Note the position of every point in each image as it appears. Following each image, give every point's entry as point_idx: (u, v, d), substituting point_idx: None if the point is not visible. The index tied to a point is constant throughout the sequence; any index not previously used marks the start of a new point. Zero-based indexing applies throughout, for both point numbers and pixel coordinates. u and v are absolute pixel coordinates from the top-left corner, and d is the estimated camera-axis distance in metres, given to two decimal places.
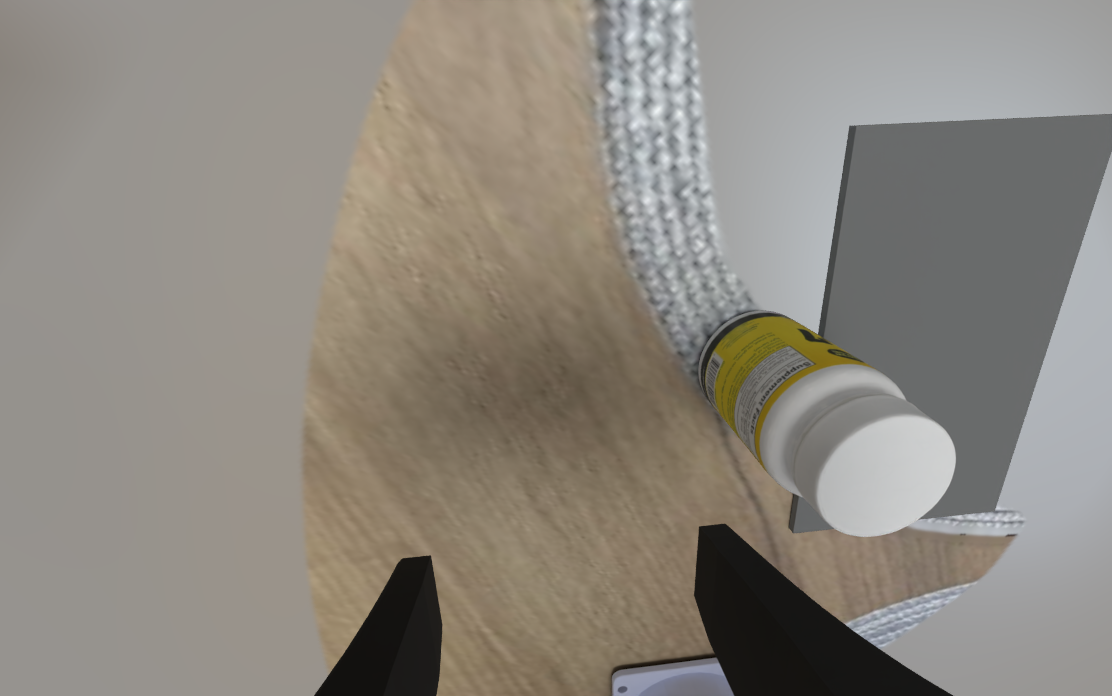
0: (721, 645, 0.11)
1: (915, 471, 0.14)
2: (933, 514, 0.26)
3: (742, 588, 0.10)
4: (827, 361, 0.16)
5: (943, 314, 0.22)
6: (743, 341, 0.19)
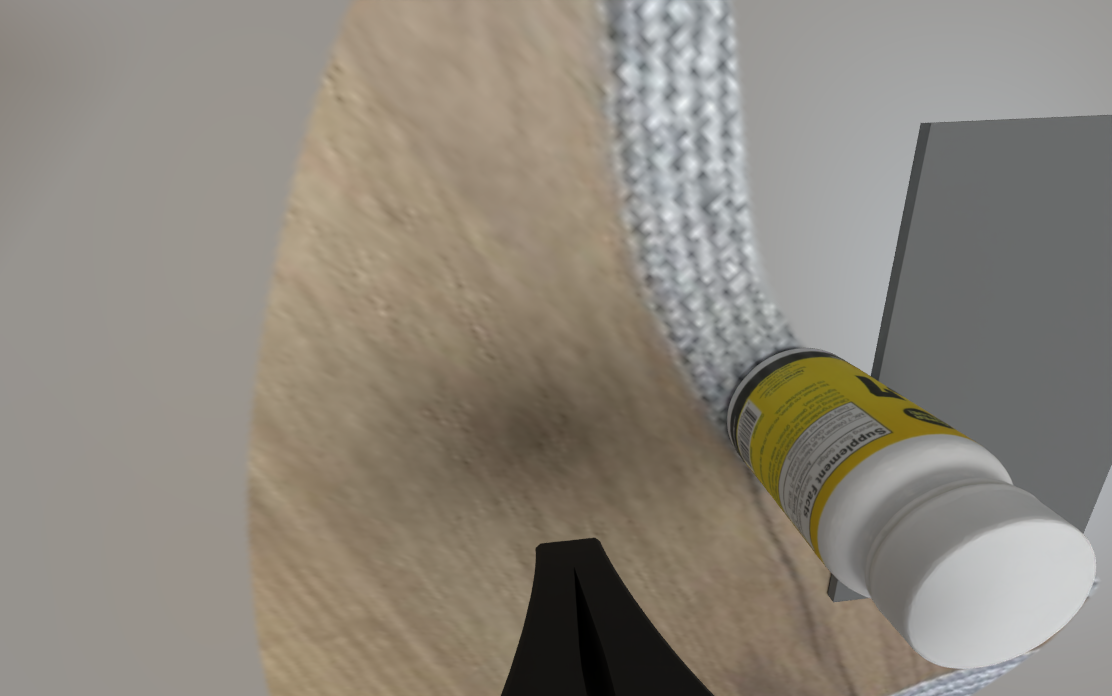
0: (581, 663, 0.11)
1: (1040, 588, 0.11)
2: None
3: (586, 607, 0.09)
4: (907, 428, 0.12)
5: (1022, 351, 0.18)
6: (788, 390, 0.16)
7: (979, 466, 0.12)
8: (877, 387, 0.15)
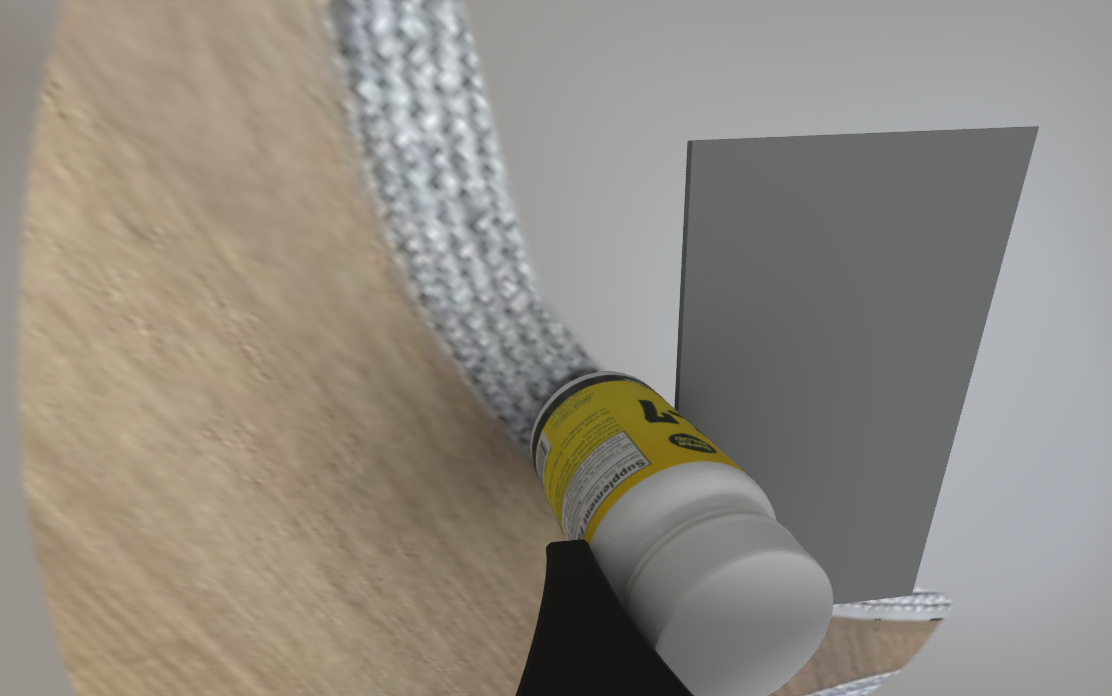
0: None
1: (783, 620, 0.10)
2: (836, 600, 0.22)
3: (571, 608, 0.09)
4: (665, 458, 0.12)
5: (828, 371, 0.18)
6: (573, 420, 0.15)
7: (730, 493, 0.11)
8: (655, 411, 0.14)
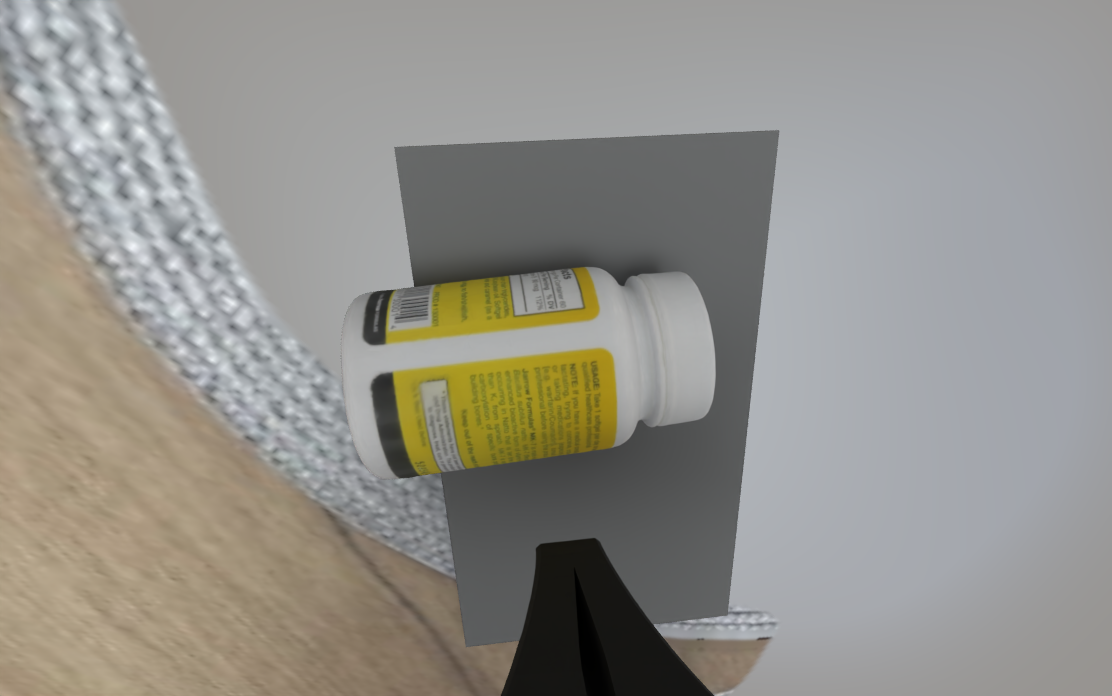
0: (581, 663, 0.11)
1: None
2: None
3: (585, 607, 0.09)
4: None
5: None
6: None
7: None
8: None
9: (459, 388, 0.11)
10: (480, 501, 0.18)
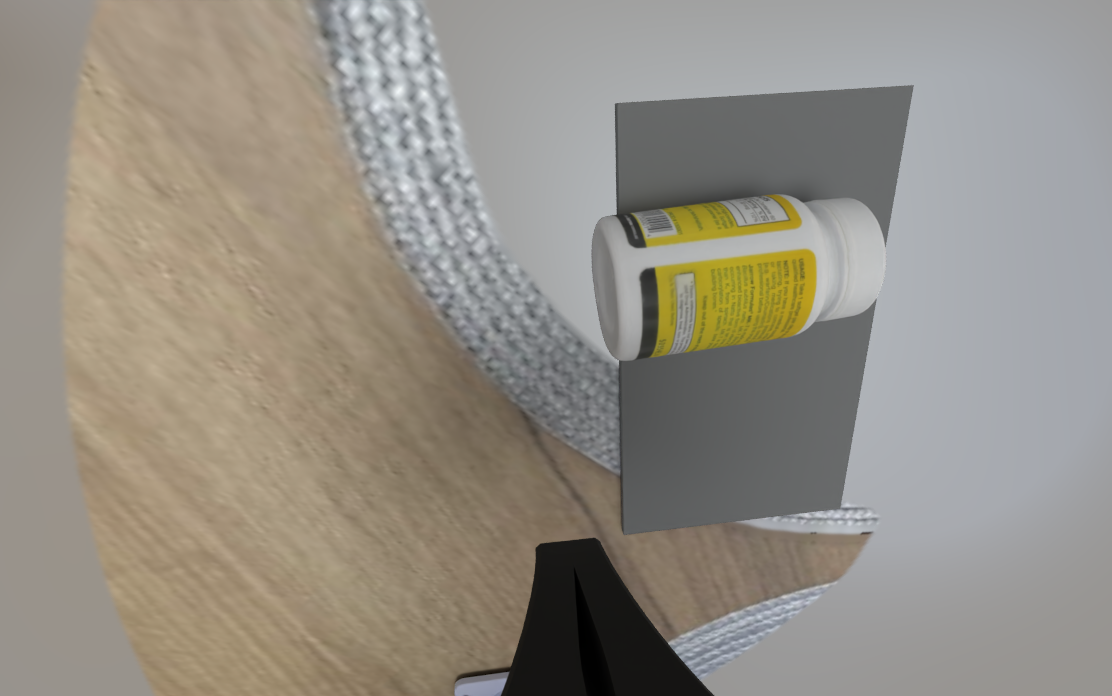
0: (581, 663, 0.11)
1: None
2: (773, 512, 0.25)
3: (586, 607, 0.09)
4: None
5: None
6: None
7: None
8: None
9: (702, 279, 0.15)
10: (649, 402, 0.22)
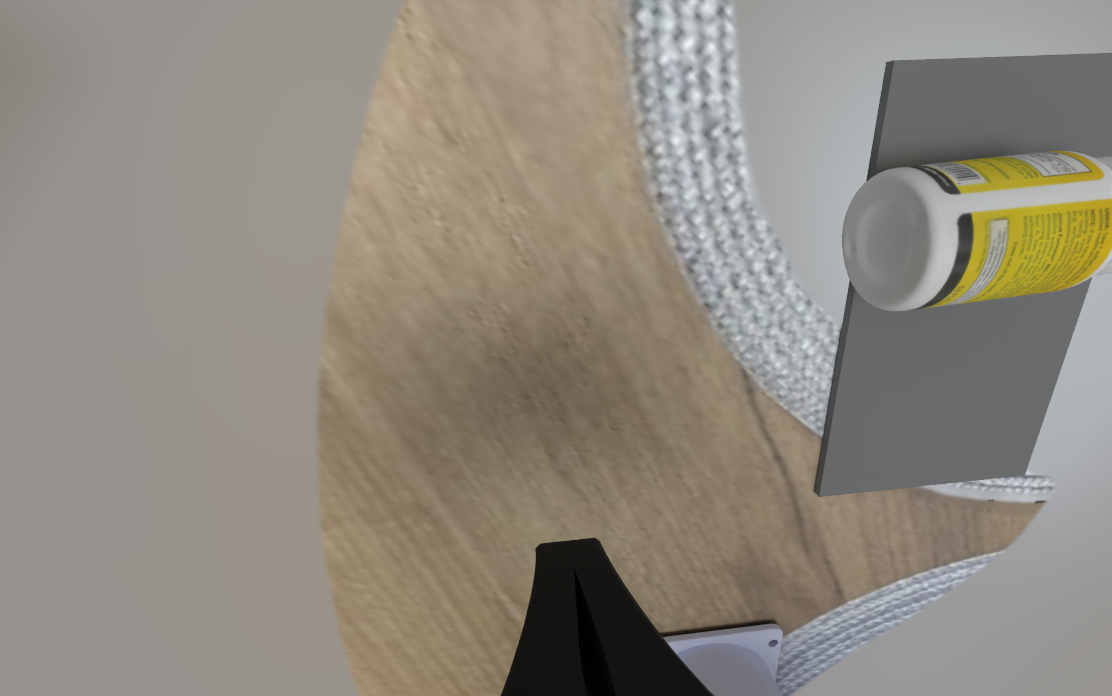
0: (582, 663, 0.11)
1: None
2: (961, 478, 0.25)
3: (585, 606, 0.09)
4: None
5: None
6: None
7: None
8: None
9: (1015, 225, 0.16)
10: (868, 362, 0.22)
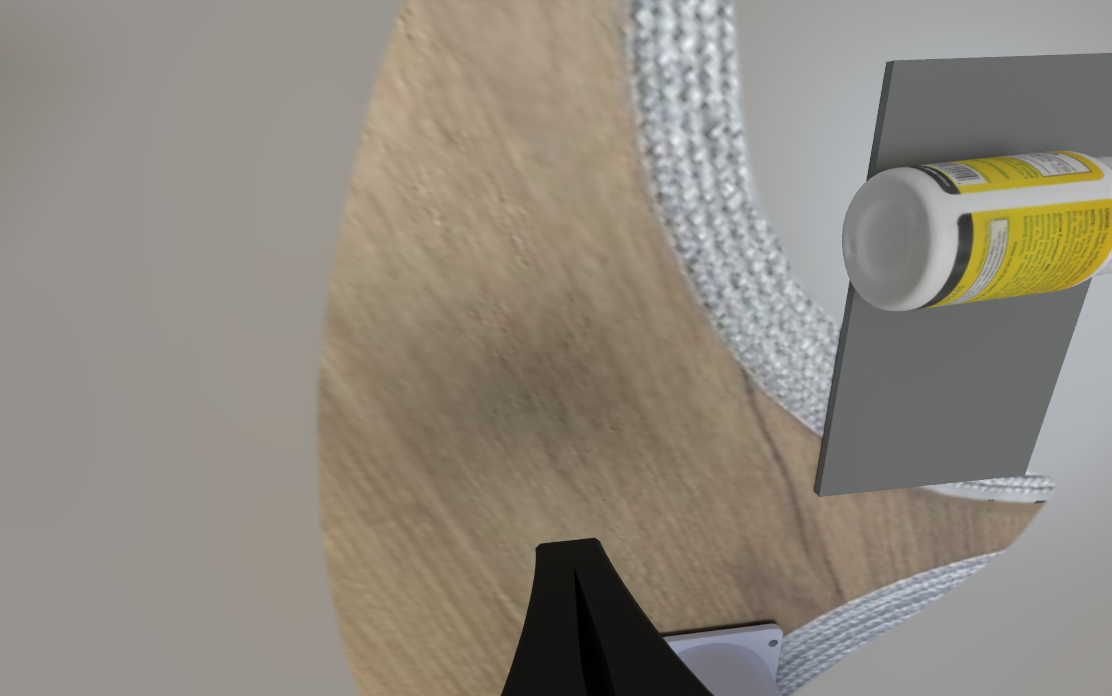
0: (582, 663, 0.11)
1: None
2: (961, 478, 0.25)
3: (585, 606, 0.09)
4: None
5: None
6: None
7: None
8: None
9: (1015, 225, 0.16)
10: (868, 362, 0.22)
